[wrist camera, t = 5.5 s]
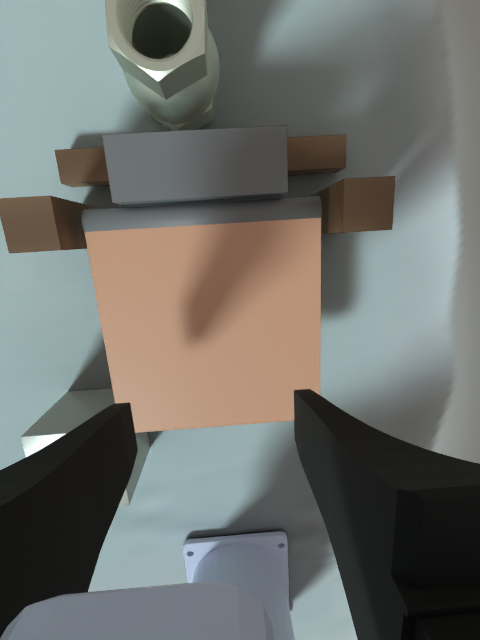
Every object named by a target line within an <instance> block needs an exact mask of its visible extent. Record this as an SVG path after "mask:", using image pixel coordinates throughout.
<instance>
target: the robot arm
mask: <svg viewBox="0 0 480 640" xmlns="http://www.w3.org/2000/svg"><path fill="white" fill-rule="evenodd" d="M294 432H295V441H296V445H297V449H298V453H299V457H300V460H301V463H302V466H303V468H304V471H305V474H306V476H307V479H308V481H309V484H310V486H311V489H312V491H313V494H314V496H315V499H316V501H317V504H318V506H319V509H320V511H321V514H322V516H323V519H324V522H325V525H326V527H327V530H328V534H329V537H330V540H331V544H332V547H333V551H334V554H335V558H336V561H337V565H338V568H339V572H340V575H341V579H342V583H343V586H344V590H345V593H346V597H347V601H348V604H349V608H350V612H351V616H352V620H353V623H354V627H355V631H356V635H357V639H358V640H480V464H478V463H473V462H469V461H465V460H461V459H457V458H453V457H450V456H446V455H443V454H439V453H436V452H433V451H430V450H427V449H424V448H421V447H418V446H415V445H412V444H410V443H407V442H404V441H402V440H399V439H397V438H394V437H392V436H390V435H388V434H385V433H383V432H381V431H379V430H377V429H375V428H373V427H371V426H369V425H367V424H365V423H363V422H361V421H360V420H358V419H356V418H354V417H352V416H351V415H349V414H347V413H346V412H344V411H343V410H341V409H340V408H338V407H336V406H335V405H333V404H332V403H330V402H329V401H327V400H326V399H325V398H323V397H322V396H320V395H319V394H317V393H316V392H314V391H313V390H311V389H301V390H294ZM137 452H138V447H137V441H136V435H135V429H134V422H133V416H132V410H131V404H130V402H129V403H115V404H112V405H110V406H108V407H107V408H105V409H103V410H102V411H100V412H99V413H97V414H96V415H94V416H93V417H91V418H90V419H88V420H87V421H85V422H84V423H82V424H81V425H79V426H78V427H76V428H74V429H73V430H71V431H70V432H68V433H67V434H65V435H63V436H62V437H60V438H59V439H57V440H55V441H54V442H52V443H50V444H49V445H47V446H46V447H44V448H42V449H40V450H39V451H37V452H35V453H33V454H31V455H30V456H28V457H26V458H24V459H22V460H20V461H18V462H16V463H14V464H12V465H10V466H8V467H6V468H4V469H2V470H0V640H295V639H294V633H293V627H292V621H291V615H290V610H289V578H288V542H287V535H286V533H285V532H283V531H277V532H266V533H254V534H243V535H232V536H220V537H209V538H197V539H188V540H186V541H185V542H184V545H183V552H184V560H185V567H186V575H187V582H188V583H184V584H173V585H163V586H152V587H141V588H130V589H119V590H108V591H97V592H88V589H89V585H90V582H91V579H92V576H93V573H94V569H95V566H96V563H97V560H98V557H99V553H100V550H101V548H102V545H103V542H104V540H105V537H106V535H107V532H108V530H109V527H110V525H111V523H112V520H113V518H114V516H115V513H116V511H117V508H118V506H119V504H120V501H121V499H122V497H123V494H124V492H125V489H126V487H127V485H128V482H129V480H130V477H131V474H132V471H133V467H134V464H135V460H136V456H137ZM280 543H281V544H280Z"/></svg>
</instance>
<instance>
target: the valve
mask: <svg viewBox="0 0 480 640" xmlns="http://www.w3.org/2000/svg"><path fill="white" fill-rule="evenodd" d="M105 9H106V22H107V33H108V42H109V48H110V49H111V51H112V53H113V54H114V56H115V57H116V59H117V61H118V62H119V64H120V66H121V67H122V69H123V72H124V76H125V79H126V81H127V84H128V86H129V88H130V90H131V92H132V94H133V95H134V97H135V99H136V100H137V101H138V102H139V104H140V105H141V106H142V107H143V108H144V109H145V110H146V111H147V112H149V113H150V115H151V117H153V118H154V119H155V120H157V121H158V122H160V123H161V124H163V125H164V126H165V127H167V128H168V129H170V130H171V131H185V130H197V129H199V128H201V127H202V126H204V125H206V124H207V123H209V122H210V121H212V118H213V99H214V96H215V94H216V91H217V87H218V83H219V74H220V63H219V55H218V50H217V46H216V43H215V40H214V38H213V35H212V33H211V31H210V29H209V27H208V15H207V3H206V0H105Z"/></svg>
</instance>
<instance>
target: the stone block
mask: <svg viewBox="0 0 480 640" xmlns="http://www.w3.org/2000/svg"><path fill="white" fill-rule="evenodd" d="M112 404H115V400H114V394H113V388H106V389H93V390H80V391H68V392H67V393H66V394H65V395H64V396H63V397H62V398H61V399H59V400H58V401H57V402H56V403H55V404H54V405H53V406H52V407H51V408H50V409H49V410H48V411H47V412H46V413H45V414H44V415H43V416H42V417H41V418H40V419H39V420H38V421H37V422H36V423H35V424H34V425H33V426H32V427H30V428H29V429H28V430H27V431H26V432H25V433H24V434H23V435H22V436H21V441H22V444H23V448H24V452H25V455H26V457H28V456H30V455H31V454H33V453H35V452H37V451H39V450H40V449H42V448H44V447H46V446H47V445H49V444H50V443H52V442H54V441H55V440H57V439H59V438H60V437H62V436H63V435H65V434H67V433H68V432H70V431H71V430H73V429H74V428H76V427H78V426H79V425H81V424H82V423H84V422H85V421H87V420H88V419H90V418H91V417H93V416H94V415H96V414H97V413H99V412H100V411H102V410H103V409H105V408H107V407H108V406H110V405H112ZM135 435H136V441H137V447H138V452H137V456H136V460H135V464H134V467H133V471H132V474H131V477H130V480H129V482H128V485H127V487H126V489H125V492H124V494H123V497H122V499H121V501H120V504H119V506H125V505H129V504H130V502H131V499H132V496H133V493H134V491H135V488H136V485H137V482H138V479H139V477H140V474H141V471H142V468H143V466H144V463H145V460H146V457H147V455H148V452H149V449H150V444H149V438H148V432H139V433H135Z"/></svg>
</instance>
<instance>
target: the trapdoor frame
mask: <svg viewBox="0 0 480 640" xmlns="http://www.w3.org/2000/svg"><path fill="white" fill-rule="evenodd" d="M55 154H56V160H57V165H58V170H59V175H60V181H61V184H64V185H67V186H70V187H83V186H101V185H110V184H109V177H108V171H107V164H106V158H105V151H104V147H101V148H82V149H64V150H55ZM345 167H346V134H344V135H325V136H307V137H288V138H287V169H288V175H295V174H312V173H330V172H339V171H340V170H342V169H344V168H345ZM394 190H395V176H385V177H368V178H350V179H343V180H341V181H339V182H337V183H335V184H333V185H331V186H330V187H328V188H326V189H324V190H322V191H320V192H318V193H316V194H314V195H312V196H319V197H320V199H321V203H322V215H321V234H328V233H344V232H361V231H377V230H392V223H393V206H394ZM88 209H101V208H97V207H93V206H89V205H85V204H81V203H77V202H73V201H69V200H65V199H61V198H57V197H53V196H37V197H19V198H2V199H0V217H1V222H2V226H3V230H4V234H5V238H6V242H7V246H8V251H9V253H22V252H38V251H54V250H70V249H87V243H86V238H85V232H84V230H83V226H82V220H81V216H82V212H83V210H88Z"/></svg>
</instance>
